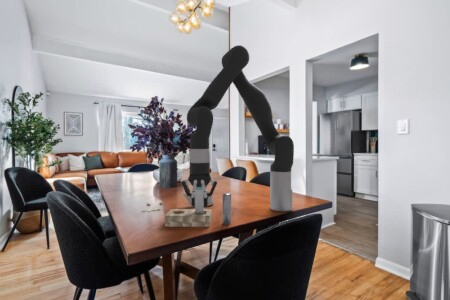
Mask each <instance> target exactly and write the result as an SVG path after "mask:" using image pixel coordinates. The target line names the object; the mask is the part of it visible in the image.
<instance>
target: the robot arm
mask: <svg viewBox="0 0 450 300" xmlns="http://www.w3.org/2000/svg"><path fill="white" fill-rule="evenodd" d="M249 62H250V53H249V51H248V49H247V48H246V47H245V46H243V45H235V46H233V47H231V48H230V49H229V50H228V51H227V52H225V54H223V56H222V58H221V65H222V69H221V71H220V72H218V74H217V75H216V76H215V77H214V78H213V80H212V81H211V82H210V83H209V85H208V86H207V88H206V89H205V90H204V92H203V94H202V95H201V97H200V98H199V99H197V100H196V102H194V103H193V104H192V105H191V107H190V108H189V110H187V114H186V121H187V124H188V125H189V126H191V127H195V130H194V131H195V132H193V133H191V135H190V137H189V157H188V159H189V160H188V161H189V175H188V177H187V179H184V180H182V181H181V185H182V187H183V189H184V192H185V193H186V195H187V196H190V197H191V198H192V206H193V207H192V208H193V209H195V191H196V187H202V190H203V192H204V208H205V209H207V207H208V206H207V205H208V197H209V196H213V194H214V191H215V189H216V187H217V185H218V180H217V179H213V178H212V177H211V171H210V169H211V153H210V137H211V136H210V135H211V132H212V128H213V125H214V124H213V123H214V114H213V111H212V110H214V109H216V108H218V106H219V104H220V102H221V101H222V99H223V98H224V96H225V95H226V93H227V92H228V90H229V87H230V86H231V85H232V84H233V85H234V87H235V88H236V90H237V92H238V93H239V95H240V97H241V98H242V101H243V102H244V105H245V107H246V108H247V110H248V112H249V114H250V116H251V117H252V118H253V121H254V123H255V124H256V126H257V129H259V131H260V133H261V136H262V138H263V140H264V142H265V145H266V148H267V150H268V152H269V153H270V154H272V155H274V160H273V162H272V163H271V164H270V165H269V167H270V168H269V169H270V170H269V171H270V172H269V175H270V178H269V180H270V181H269V183H270V185H269V187H270V188H269V190H270V191H269V192H270V195H269V197H270V198H269V199H270V200H269V201H270V202H269V208H270V210H272V211H275V212H289V211H293V188H292V167H293V165H294V155H295V145H294V141H293V139H292V138H291V137H290V136H289V135H285V134H283V135H280V133H279V132H278V129H277V128H276V127H275V124H274V122H273V121H274V120H273V113H272V107H271V105H270V104H271V103H270V102H269V101H268V99H267V97H266V95H265V93H264V92H263V91H262V90H261V89H260V88H258V87H257V86H256V85H254V84H253V83H252V82H251V81H249V79H248V78H247V77H246V74H245V73H244V71H243V69H245V67H246V66H247V65H248V64H249ZM189 183H190V185H191V186H192V189H191V190H190V188H189ZM210 183H211V184H210ZM209 184H210V186H211V189H210V191H209V192H208V188H207V186H208V185H209Z"/></svg>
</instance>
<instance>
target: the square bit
mask: <svg viewBox="0 0 450 300" xmlns="http://www.w3.org/2000/svg"><path fill="white" fill-rule="evenodd" d="M194 209H195V214H205V210H206V208H204V192H203V190H202V187H196V191H195V208H194Z"/></svg>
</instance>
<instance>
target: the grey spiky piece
mask: <svg viewBox="0 0 450 300" xmlns="http://www.w3.org/2000/svg"><path fill="white" fill-rule="evenodd" d="M183 197H184V198H185V200H186V201H187V202H188V204H189V206H190V207H192V208H193V206H192V198H191V197H190V196H187V195H186V192H185V193H183ZM213 198H214V197H213V195H212V196H209V197H208V205H207V206H206V207H209V206H212V205H214V204H215V202H214V199H213Z"/></svg>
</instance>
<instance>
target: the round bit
mask: <svg viewBox="0 0 450 300" xmlns="http://www.w3.org/2000/svg"><path fill="white" fill-rule="evenodd" d="M222 225H224V226H225V225H228V226H229V225H232V193H230V192H225V193H222Z"/></svg>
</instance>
